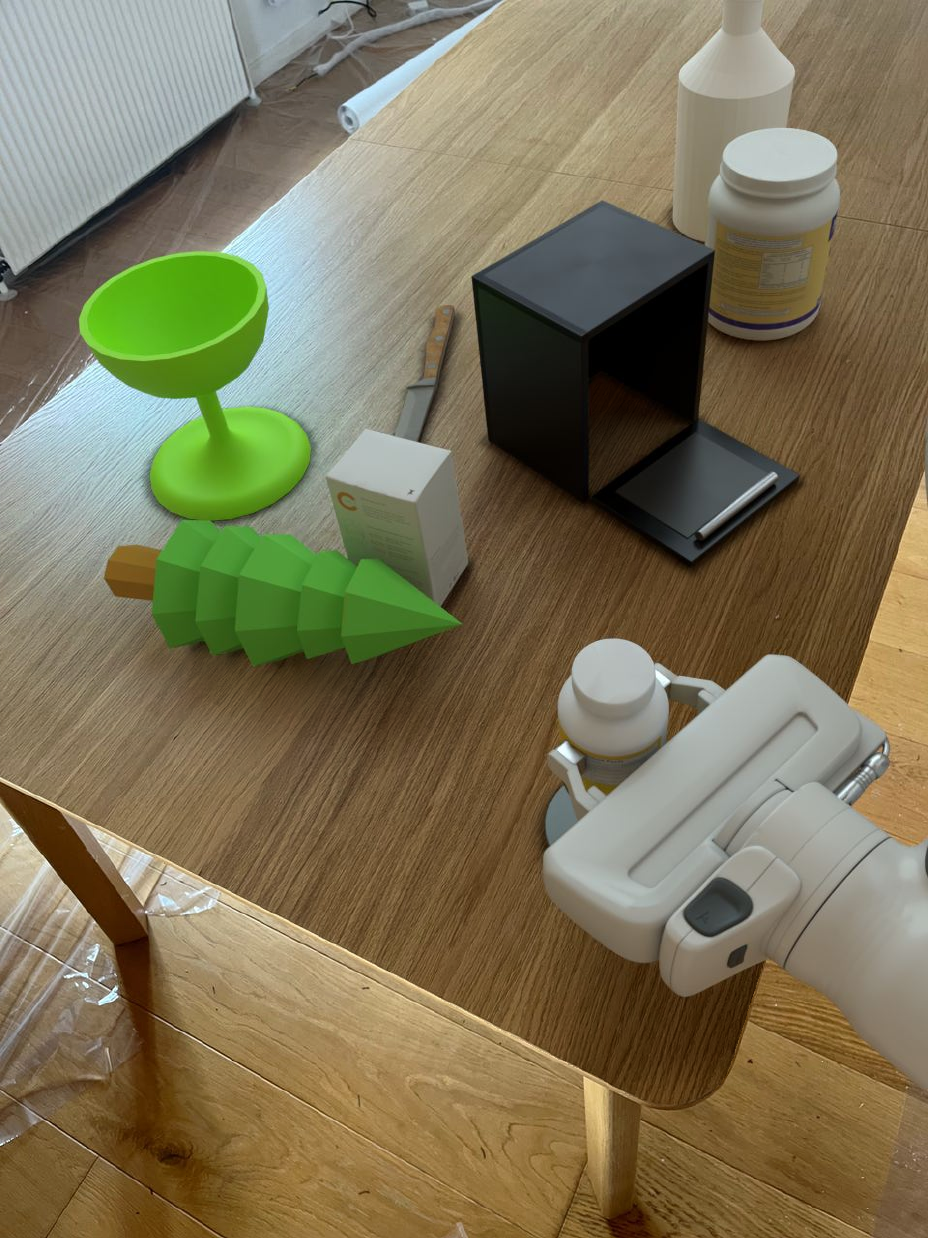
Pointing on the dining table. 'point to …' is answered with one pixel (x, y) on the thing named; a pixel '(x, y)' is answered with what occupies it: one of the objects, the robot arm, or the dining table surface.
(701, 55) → the bottle
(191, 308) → the wineglass
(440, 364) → the knife
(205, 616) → the decorative tree
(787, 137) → the supplement tub
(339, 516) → the small box
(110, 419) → the dining table surface
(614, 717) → the pill bottle
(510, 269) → the oven
